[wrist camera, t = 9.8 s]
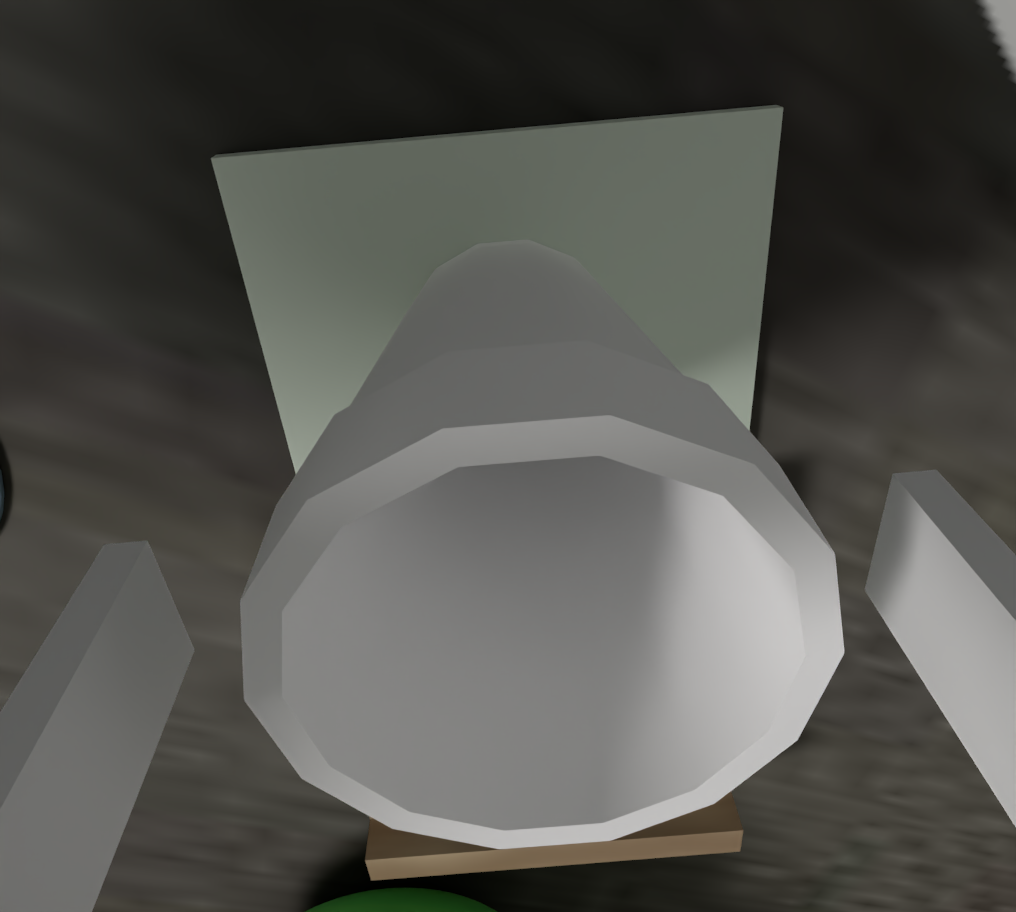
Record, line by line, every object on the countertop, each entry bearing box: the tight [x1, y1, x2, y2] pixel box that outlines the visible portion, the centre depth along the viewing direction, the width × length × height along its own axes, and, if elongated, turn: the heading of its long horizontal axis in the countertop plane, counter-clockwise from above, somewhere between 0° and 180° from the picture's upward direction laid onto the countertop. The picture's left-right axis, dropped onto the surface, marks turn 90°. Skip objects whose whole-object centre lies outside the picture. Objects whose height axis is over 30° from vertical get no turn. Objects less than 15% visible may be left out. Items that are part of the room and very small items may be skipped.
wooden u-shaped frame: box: [365, 791, 743, 881], centre depth 29 cm, size 16×15×4 cm
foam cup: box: [240, 239, 844, 849], centre depth 18 cm, size 10×9×13 cm
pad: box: [211, 105, 783, 474], centre depth 23 cm, size 12×15×1 cm
